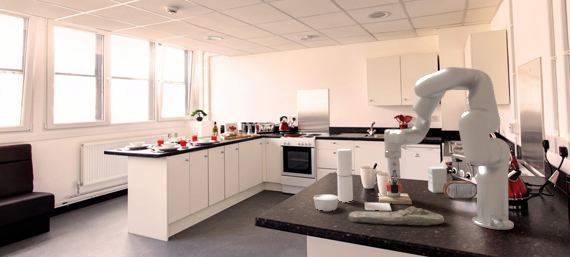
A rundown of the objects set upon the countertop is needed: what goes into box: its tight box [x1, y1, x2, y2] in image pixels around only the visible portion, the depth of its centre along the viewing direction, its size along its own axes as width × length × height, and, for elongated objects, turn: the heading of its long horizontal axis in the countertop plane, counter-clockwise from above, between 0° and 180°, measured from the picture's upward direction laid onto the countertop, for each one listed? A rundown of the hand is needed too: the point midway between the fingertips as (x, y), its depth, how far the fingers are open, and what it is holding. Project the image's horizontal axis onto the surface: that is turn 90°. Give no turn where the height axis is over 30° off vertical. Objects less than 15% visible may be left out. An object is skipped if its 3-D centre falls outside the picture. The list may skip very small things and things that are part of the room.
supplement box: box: [427, 166, 448, 194], centre depth 165 cm, size 7×7×13 cm
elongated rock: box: [348, 205, 445, 227], centre depth 121 cm, size 35×5×10 cm
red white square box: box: [385, 181, 403, 192], centre depth 151 cm, size 7×7×3 cm
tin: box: [443, 180, 477, 200], centre depth 150 cm, size 15×3×8 cm, turn 84°
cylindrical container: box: [336, 148, 354, 203], centre depth 153 cm, size 7×7×25 cm
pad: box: [364, 202, 392, 212], centre depth 140 cm, size 11×11×1 cm
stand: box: [377, 190, 413, 205], centre depth 151 cm, size 14×14×9 cm
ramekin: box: [313, 193, 339, 212], centre depth 141 cm, size 11×11×5 cm
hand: (393, 190), depth 152 cm, fingers closed on red white square box, 7 cm apart
